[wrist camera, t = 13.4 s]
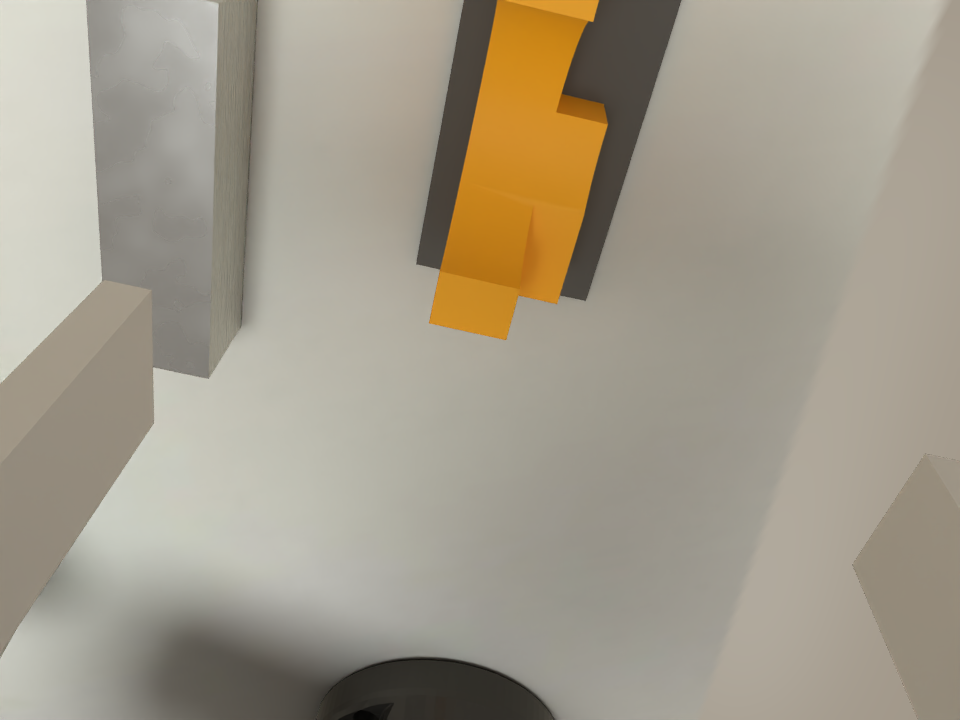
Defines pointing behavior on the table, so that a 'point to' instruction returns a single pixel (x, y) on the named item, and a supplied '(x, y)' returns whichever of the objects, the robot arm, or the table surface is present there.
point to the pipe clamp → (521, 171)
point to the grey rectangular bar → (175, 163)
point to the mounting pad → (591, 76)
